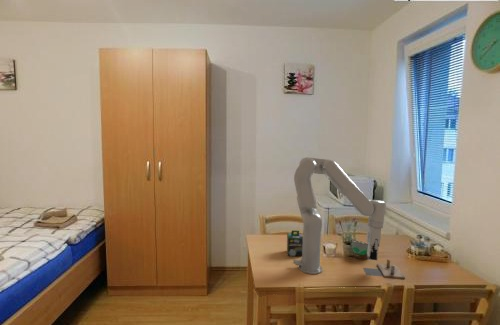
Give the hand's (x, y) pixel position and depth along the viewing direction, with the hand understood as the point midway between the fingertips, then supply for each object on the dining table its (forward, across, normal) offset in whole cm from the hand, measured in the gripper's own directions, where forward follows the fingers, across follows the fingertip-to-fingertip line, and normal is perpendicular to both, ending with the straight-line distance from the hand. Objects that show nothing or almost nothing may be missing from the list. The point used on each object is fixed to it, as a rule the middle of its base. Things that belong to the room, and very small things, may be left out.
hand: (371, 257), depth 165 cm
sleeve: (+1, 0, 0) cm, 1 cm away
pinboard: (+8, -2, +11) cm, 13 cm away
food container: (+9, -19, -2) cm, 21 cm away
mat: (+8, 0, +2) cm, 8 cm away
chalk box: (+11, -18, -40) cm, 45 cm away
